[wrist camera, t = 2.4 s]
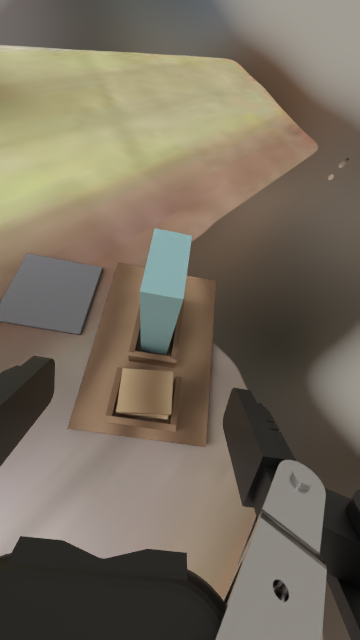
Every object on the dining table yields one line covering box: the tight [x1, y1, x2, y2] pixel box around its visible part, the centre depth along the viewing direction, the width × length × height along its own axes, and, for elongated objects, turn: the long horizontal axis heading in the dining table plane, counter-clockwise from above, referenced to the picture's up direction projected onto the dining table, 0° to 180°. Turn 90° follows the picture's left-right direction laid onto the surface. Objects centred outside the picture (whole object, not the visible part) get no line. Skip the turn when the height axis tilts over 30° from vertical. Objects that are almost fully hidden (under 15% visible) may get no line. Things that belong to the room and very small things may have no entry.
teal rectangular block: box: [140, 228, 192, 355], centre depth 23 cm, size 3×6×13 cm, turn 173°
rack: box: [67, 263, 216, 447], centre depth 27 cm, size 14×21×3 cm, turn 173°
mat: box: [0, 253, 103, 335], centre depth 29 cm, size 10×10×1 cm
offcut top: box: [116, 368, 173, 416], centre depth 22 cm, size 5×4×2 cm
